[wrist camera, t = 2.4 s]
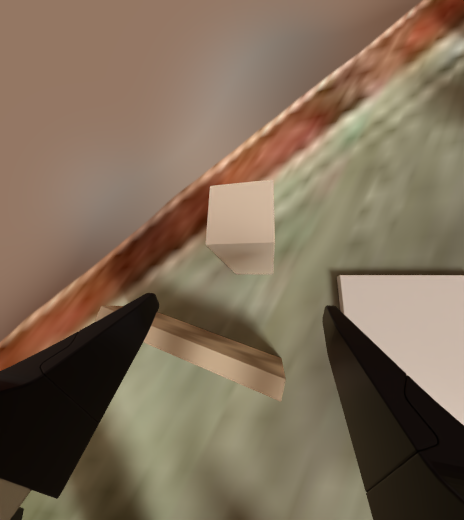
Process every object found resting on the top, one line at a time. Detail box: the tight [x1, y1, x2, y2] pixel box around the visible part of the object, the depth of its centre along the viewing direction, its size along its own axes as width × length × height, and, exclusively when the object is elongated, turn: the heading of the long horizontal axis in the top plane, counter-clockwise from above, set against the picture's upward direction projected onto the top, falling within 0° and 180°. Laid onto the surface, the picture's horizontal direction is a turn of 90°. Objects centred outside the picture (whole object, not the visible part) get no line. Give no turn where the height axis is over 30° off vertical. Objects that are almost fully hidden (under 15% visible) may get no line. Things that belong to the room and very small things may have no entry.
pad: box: [337, 275, 464, 425], centre depth 17 cm, size 12×12×1 cm
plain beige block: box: [206, 180, 275, 274], centre depth 17 cm, size 4×5×11 cm
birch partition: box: [95, 306, 286, 401], centre depth 19 cm, size 18×2×6 cm, turn 73°
